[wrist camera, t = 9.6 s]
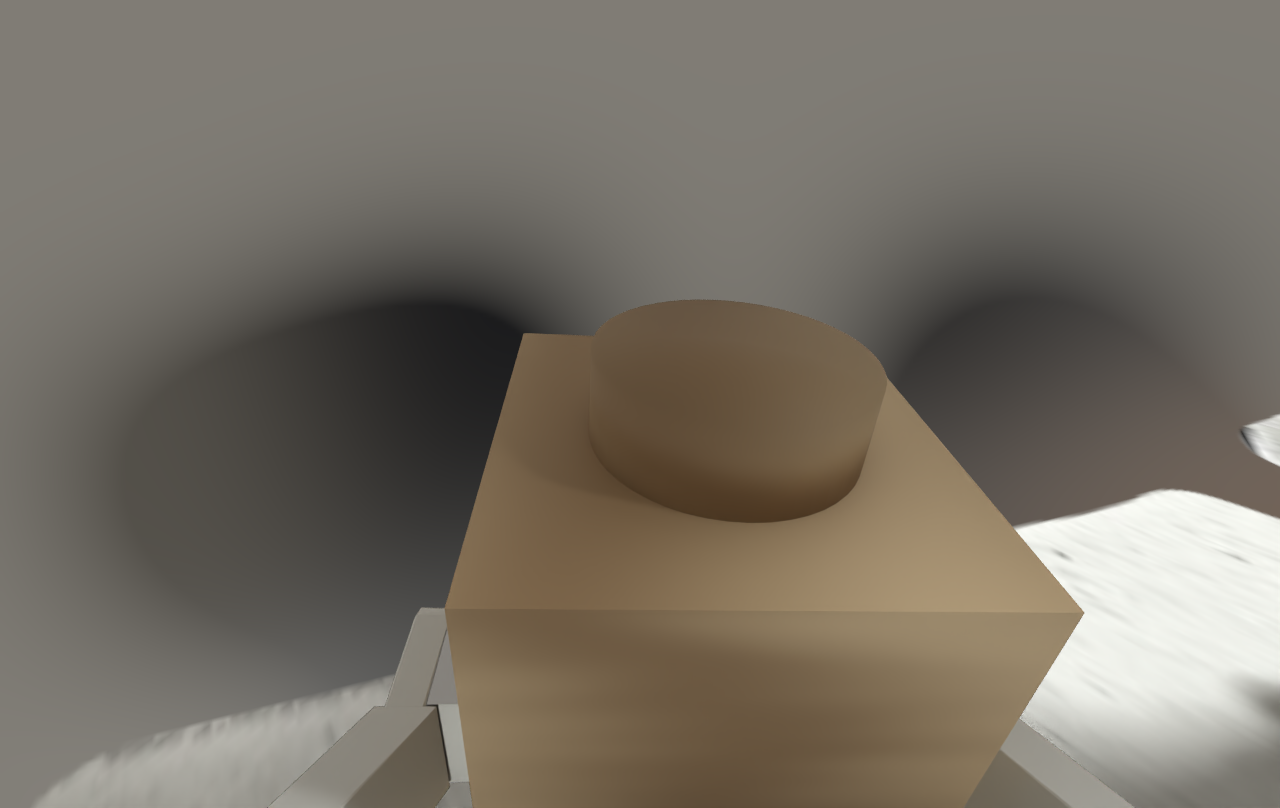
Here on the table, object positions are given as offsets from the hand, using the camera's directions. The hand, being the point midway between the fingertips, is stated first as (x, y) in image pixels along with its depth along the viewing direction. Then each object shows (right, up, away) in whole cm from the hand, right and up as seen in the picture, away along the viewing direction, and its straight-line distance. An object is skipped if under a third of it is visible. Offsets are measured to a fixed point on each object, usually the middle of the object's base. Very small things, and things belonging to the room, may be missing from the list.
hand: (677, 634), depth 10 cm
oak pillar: (0, -5, +2) cm, 6 cm away
